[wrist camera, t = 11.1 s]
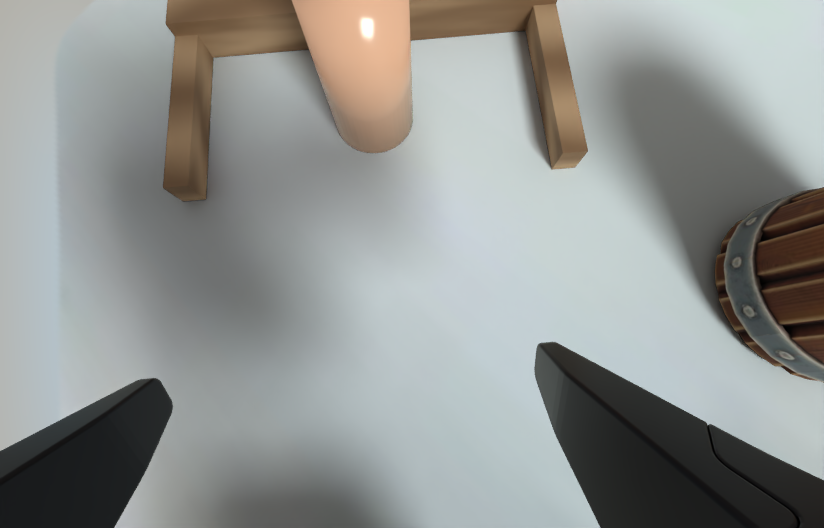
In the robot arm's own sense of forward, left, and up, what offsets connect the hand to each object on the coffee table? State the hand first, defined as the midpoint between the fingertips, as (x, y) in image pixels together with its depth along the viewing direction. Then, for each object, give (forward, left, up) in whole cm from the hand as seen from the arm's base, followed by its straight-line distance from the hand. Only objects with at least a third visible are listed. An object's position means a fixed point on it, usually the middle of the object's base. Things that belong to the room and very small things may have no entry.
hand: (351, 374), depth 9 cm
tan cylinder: (+16, 0, -13) cm, 21 cm away
